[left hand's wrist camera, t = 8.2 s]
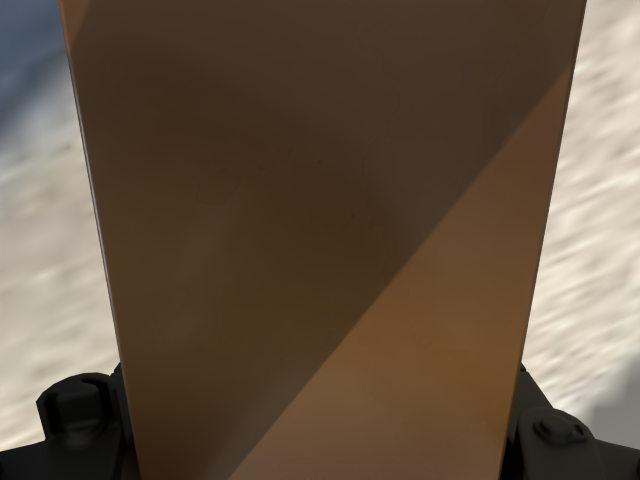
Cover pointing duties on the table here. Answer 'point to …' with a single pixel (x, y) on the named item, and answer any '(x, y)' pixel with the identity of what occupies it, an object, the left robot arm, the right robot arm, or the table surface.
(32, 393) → the table surface
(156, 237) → the post
